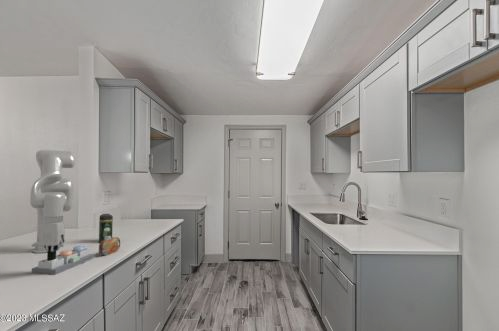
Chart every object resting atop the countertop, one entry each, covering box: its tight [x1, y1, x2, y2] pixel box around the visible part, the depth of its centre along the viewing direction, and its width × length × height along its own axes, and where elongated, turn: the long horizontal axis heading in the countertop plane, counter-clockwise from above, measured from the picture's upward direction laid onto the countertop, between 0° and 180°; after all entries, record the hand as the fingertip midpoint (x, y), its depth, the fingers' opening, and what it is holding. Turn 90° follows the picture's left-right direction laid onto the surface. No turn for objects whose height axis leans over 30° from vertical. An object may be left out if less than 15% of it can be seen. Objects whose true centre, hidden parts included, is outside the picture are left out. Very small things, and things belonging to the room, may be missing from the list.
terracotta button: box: [59, 249, 73, 257], centre depth 134 cm, size 5×5×3 cm
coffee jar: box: [98, 213, 114, 244], centre depth 182 cm, size 10×8×19 cm
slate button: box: [72, 245, 85, 252], centre depth 142 cm, size 5×5×3 cm
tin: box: [98, 236, 121, 256], centre depth 155 cm, size 15×3×8 cm, turn 168°
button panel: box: [31, 248, 95, 275], centre depth 134 cm, size 25×12×5 cm, turn 173°
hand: (51, 259), depth 125 cm, fingers closed
